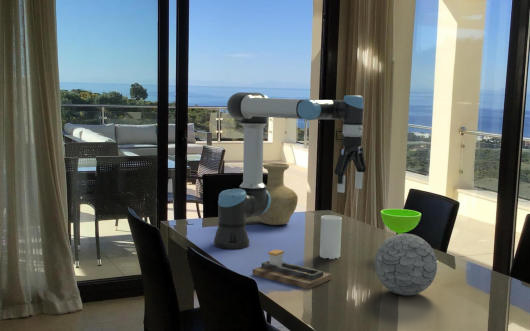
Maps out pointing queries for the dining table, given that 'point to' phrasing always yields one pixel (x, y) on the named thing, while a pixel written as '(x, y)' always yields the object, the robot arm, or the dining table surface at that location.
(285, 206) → the vase
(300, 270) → the wooden tray
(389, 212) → the wineglass
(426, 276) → the decorative sphere
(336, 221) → the cup
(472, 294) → the dining table surface
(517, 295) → the dining table surface
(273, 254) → the fader knob
